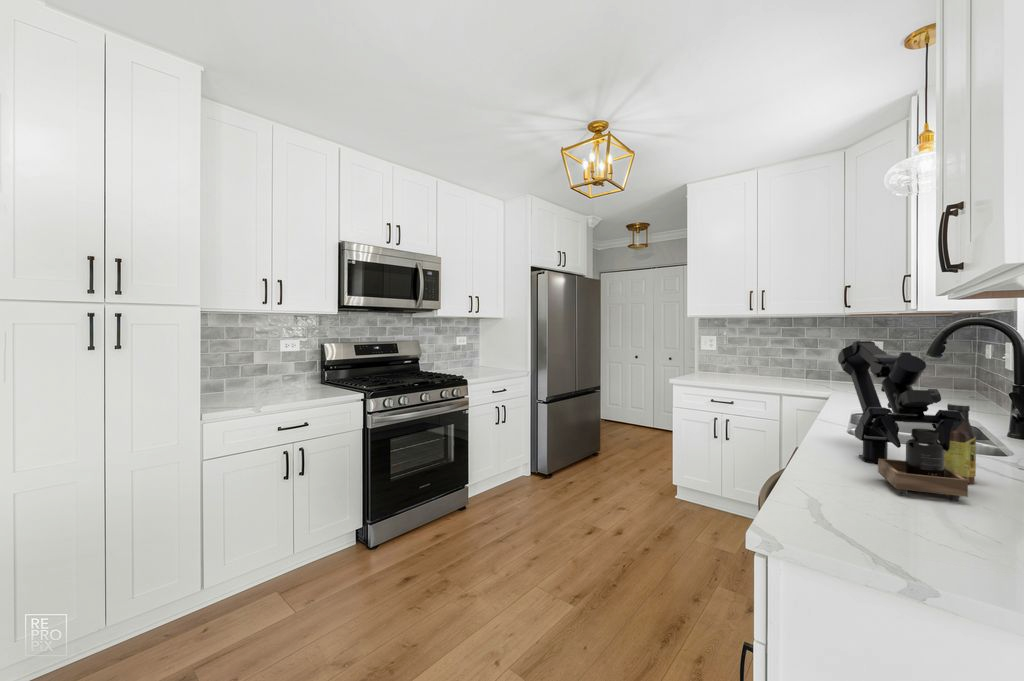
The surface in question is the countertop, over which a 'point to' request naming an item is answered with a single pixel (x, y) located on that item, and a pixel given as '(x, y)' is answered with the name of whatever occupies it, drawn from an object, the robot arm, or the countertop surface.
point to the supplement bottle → (924, 453)
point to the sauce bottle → (962, 446)
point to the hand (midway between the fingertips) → (923, 448)
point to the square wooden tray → (922, 480)
